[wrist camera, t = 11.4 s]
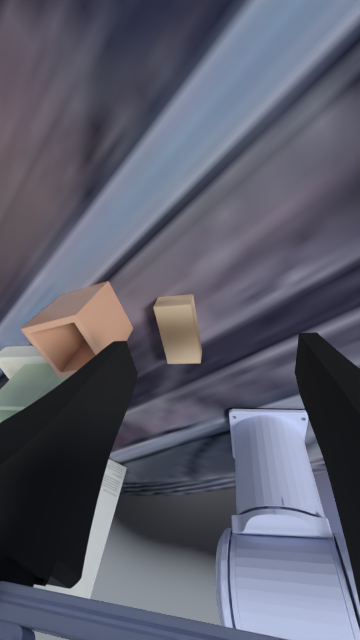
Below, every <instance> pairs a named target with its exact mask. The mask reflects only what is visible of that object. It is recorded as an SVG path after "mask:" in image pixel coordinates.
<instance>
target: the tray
mask: <svg viewBox="0 0 360 640" xmlns="http://www.w3.org/2000/svg"><path fill="white" fill-rule="evenodd" d="M25 364H48V363H47V362H46V361H45V359H44V358H43V357H42V356H41V354H40V353H39V352H38V351H37V349H36V348H35V347H34V346H11V347H5V348H4V349H3V350H1V351H0V368H1V369H2V370H3V372H4V373H5V375H6V376H7V377H8V379H9V380H10V379H11V378H12V377H13V376H14V375H15V374H16V373H17V372H18V371H19V370H20V369H21V368H22V367H23V366H24V365H25Z"/></svg>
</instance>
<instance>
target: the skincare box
mask: <svg viewBox="0 0 360 640" xmlns="http://www.w3.org/2000/svg"><path fill="white" fill-rule="evenodd" d="M126 469H127V467H125V466H123V465H121V464H119V463H117V462H115V461H113V460H111V459H108V463H107V466H106V470H105V473H104V477H103V481H102V485H101V489H100V493H99V497H98V500H97V505H96V509H95V513H94V518H93V522H92V527H91V531H90V536H89V541H88V546H87V551H86V556H85V561H84V566H83V572H82V578H81V579H80V580H79V582H78V583H77V584H76V585H75V586H74V587H72V588H70V589H68V588H62V587H57V586H52V585H46V586H40V585H35V584H34V586H33V587H34V588H39V589H44V590H49V591H54V592H59V593H64V594H68V595H73V596H78V597H83V598H88V599H90V597H91V593H92V590H93V586H94V583H95V579H96V576H97V572H98V568H99V565H100V561H101V558H102V554H103V551H104V547H105V544H106V540H107V536H108V533H109V529H110V526H111V523H112V519H113V515H114V512H115V508H116V504H117V501H118V498H119V494H120V491H121V487H122V484H123V480H124V476H125V473H126Z"/></svg>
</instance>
